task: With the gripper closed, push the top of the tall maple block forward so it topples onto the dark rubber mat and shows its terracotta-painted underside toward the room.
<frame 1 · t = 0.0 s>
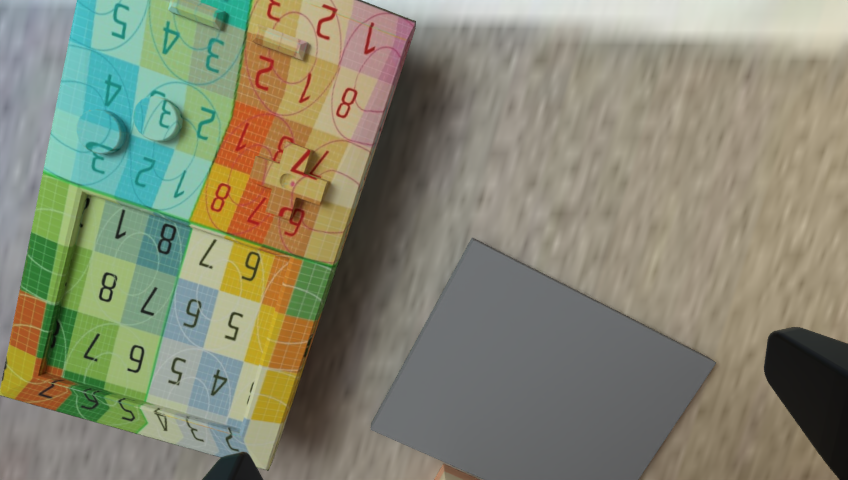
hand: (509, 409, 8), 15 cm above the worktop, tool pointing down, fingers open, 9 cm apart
rubber mat: (539, 390, 25), on the worktop
puzzle game: (230, 206, 23), on the worktop
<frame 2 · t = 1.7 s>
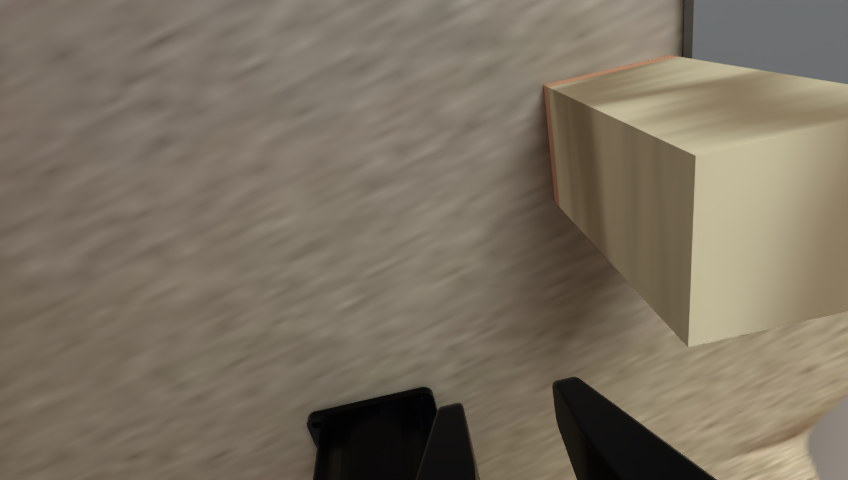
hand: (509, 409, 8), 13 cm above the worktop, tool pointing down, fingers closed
rubber mat: (814, 85, 20), on the worktop
maple block: (609, 132, 20), on the worktop
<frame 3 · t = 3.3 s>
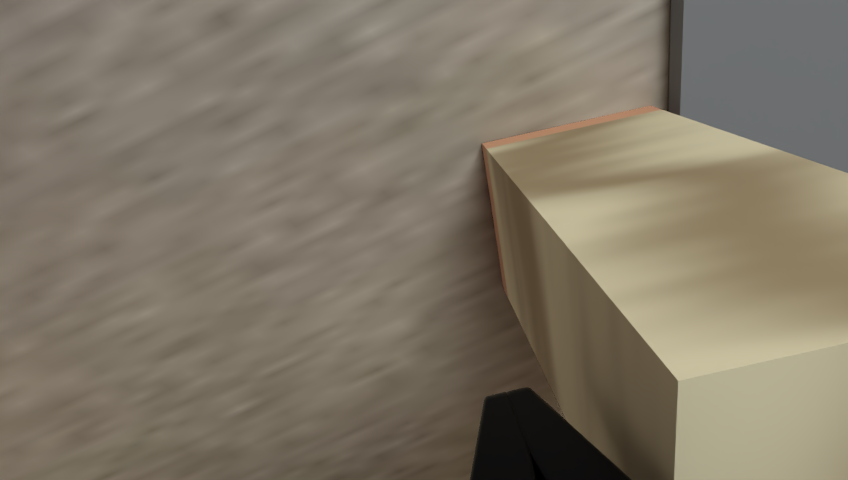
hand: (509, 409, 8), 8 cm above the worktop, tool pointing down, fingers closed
rubber mat: (840, 144, 15), on the worktop
maple block: (571, 203, 15), on the worktop, touching gripper
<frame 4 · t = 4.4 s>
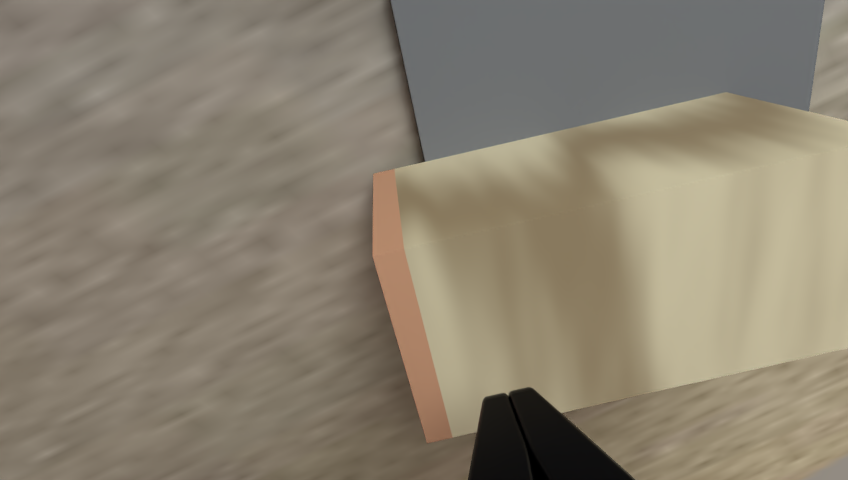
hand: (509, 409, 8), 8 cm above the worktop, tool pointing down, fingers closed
rubber mat: (612, 193, 15), on the worktop
maple block: (397, 295, 12), point 3 cm above the worktop, tilted 90°, touching rubber mat
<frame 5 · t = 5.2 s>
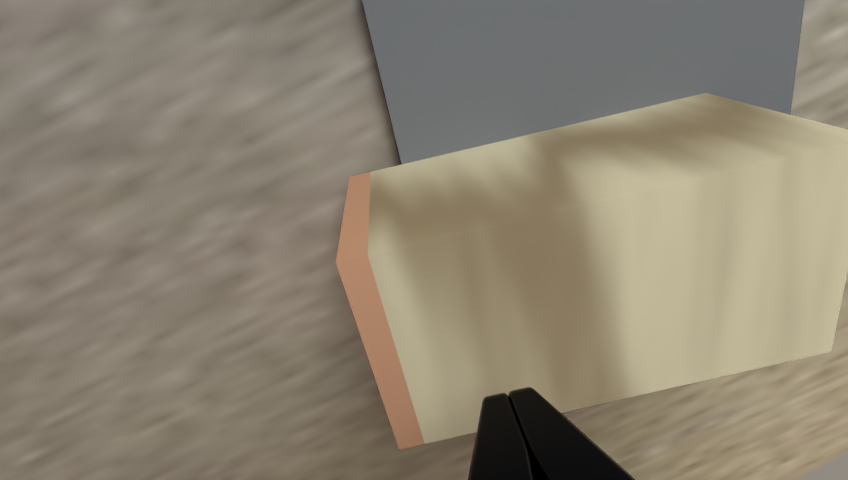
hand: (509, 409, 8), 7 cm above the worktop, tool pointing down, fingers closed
rubber mat: (593, 195, 15), on the worktop
maple block: (371, 300, 12), point 3 cm above the worktop, tilted 90°, touching rubber mat
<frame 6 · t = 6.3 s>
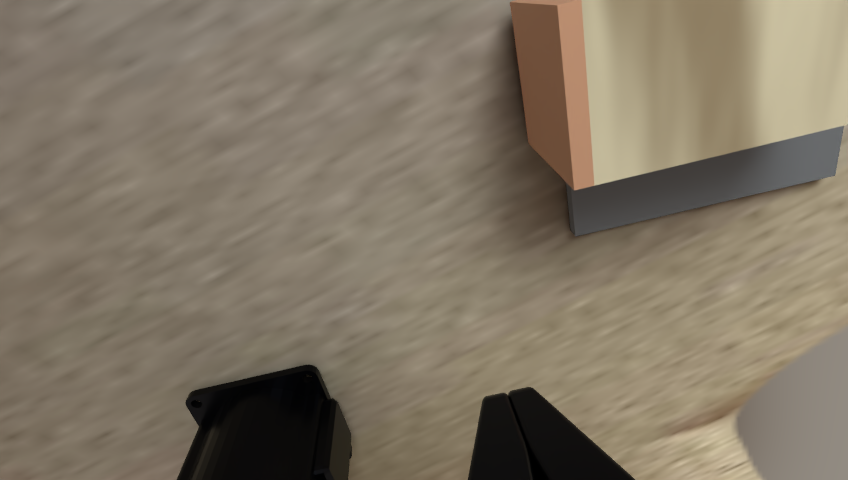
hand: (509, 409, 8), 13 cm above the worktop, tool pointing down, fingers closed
rubber mat: (702, 28, 18), on the worktop
maple block: (539, 89, 15), point 3 cm above the worktop, tilted 90°, touching rubber mat
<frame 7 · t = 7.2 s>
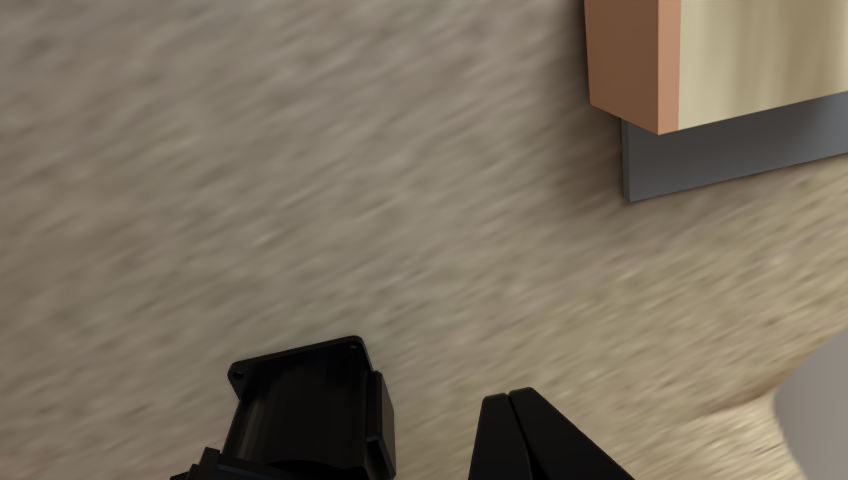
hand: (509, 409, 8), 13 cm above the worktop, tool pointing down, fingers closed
maple block: (617, 39, 15), point 3 cm above the worktop, tilted 90°, touching rubber mat
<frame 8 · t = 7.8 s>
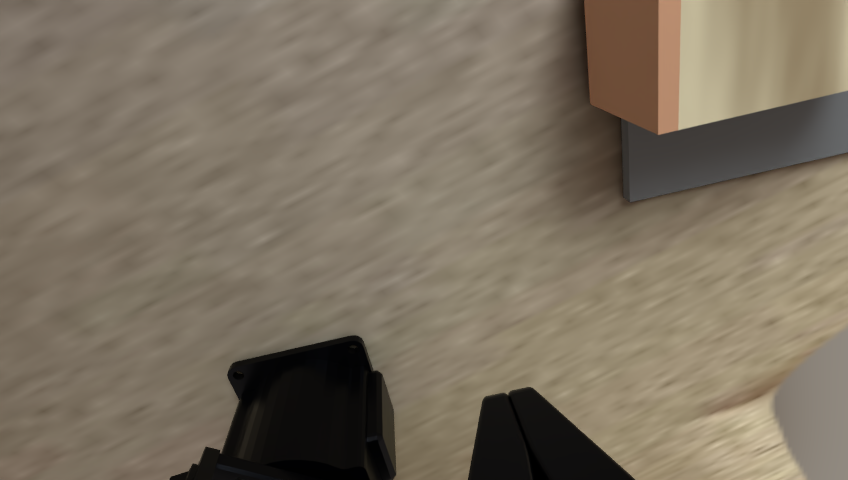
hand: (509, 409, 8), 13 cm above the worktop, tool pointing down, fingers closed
maple block: (617, 39, 15), point 3 cm above the worktop, tilted 90°, touching rubber mat
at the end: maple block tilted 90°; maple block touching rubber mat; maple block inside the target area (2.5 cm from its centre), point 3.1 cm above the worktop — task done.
